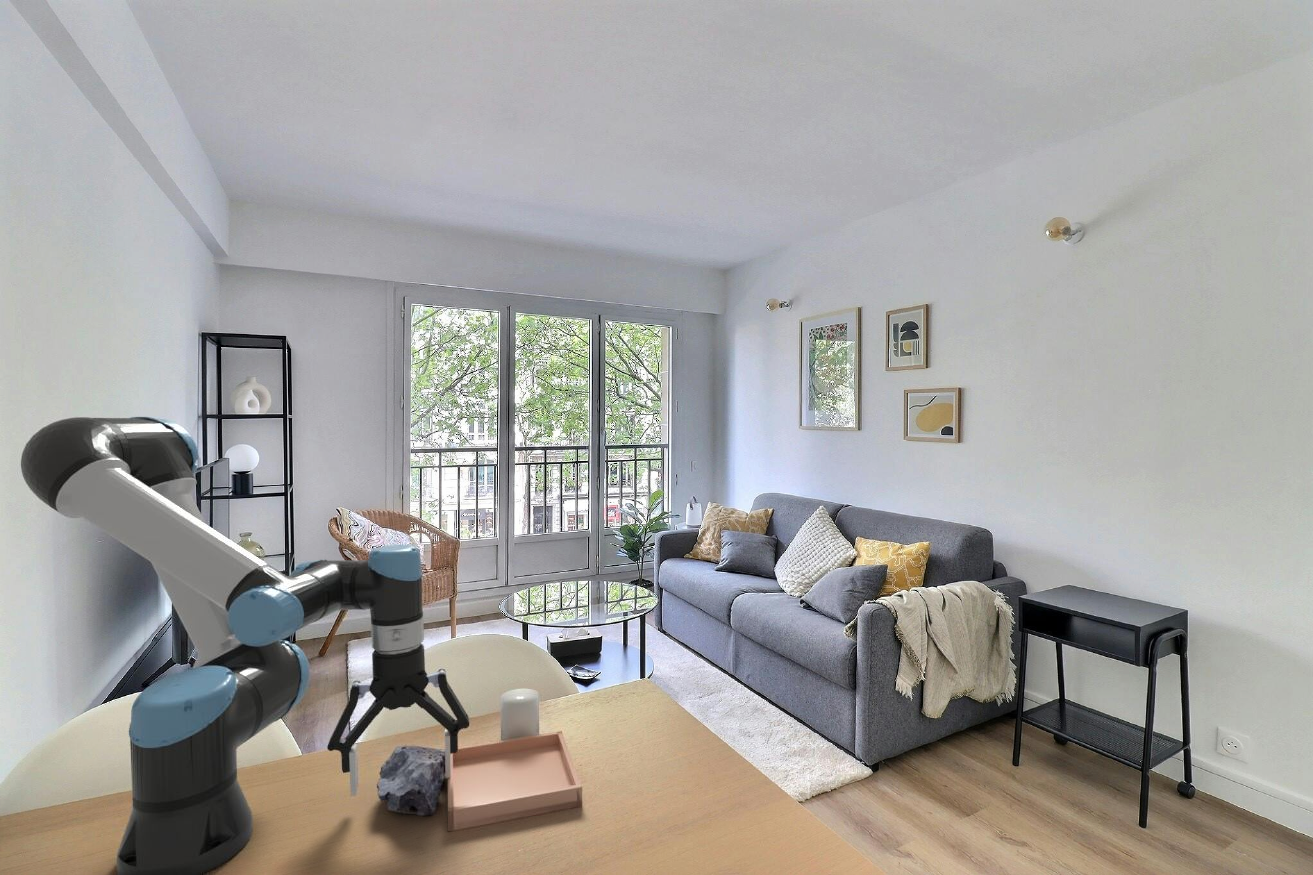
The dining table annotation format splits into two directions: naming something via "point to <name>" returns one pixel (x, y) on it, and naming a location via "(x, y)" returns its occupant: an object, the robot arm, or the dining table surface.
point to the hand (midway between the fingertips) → (403, 782)
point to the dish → (511, 780)
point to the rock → (412, 779)
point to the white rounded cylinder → (519, 713)
